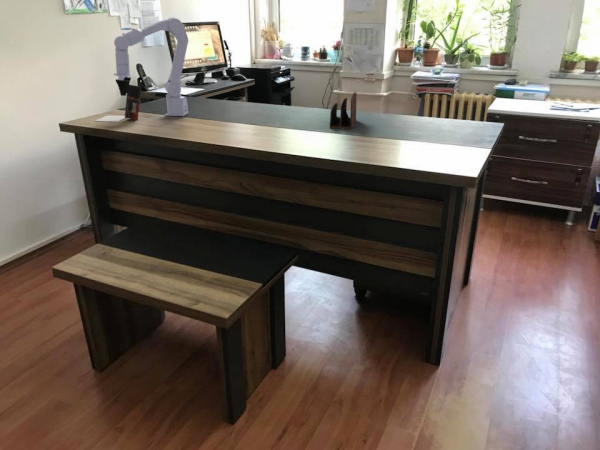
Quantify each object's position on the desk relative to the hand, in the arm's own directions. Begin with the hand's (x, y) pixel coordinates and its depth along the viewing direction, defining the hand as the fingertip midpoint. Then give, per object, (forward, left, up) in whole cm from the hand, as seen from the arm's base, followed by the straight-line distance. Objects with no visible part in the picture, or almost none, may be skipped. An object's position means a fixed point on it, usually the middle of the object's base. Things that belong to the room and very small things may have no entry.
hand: (124, 94), depth 232 cm
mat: (+6, +4, -11) cm, 13 cm away
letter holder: (-103, -3, -11) cm, 103 cm away
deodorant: (-4, +4, -11) cm, 12 cm away
